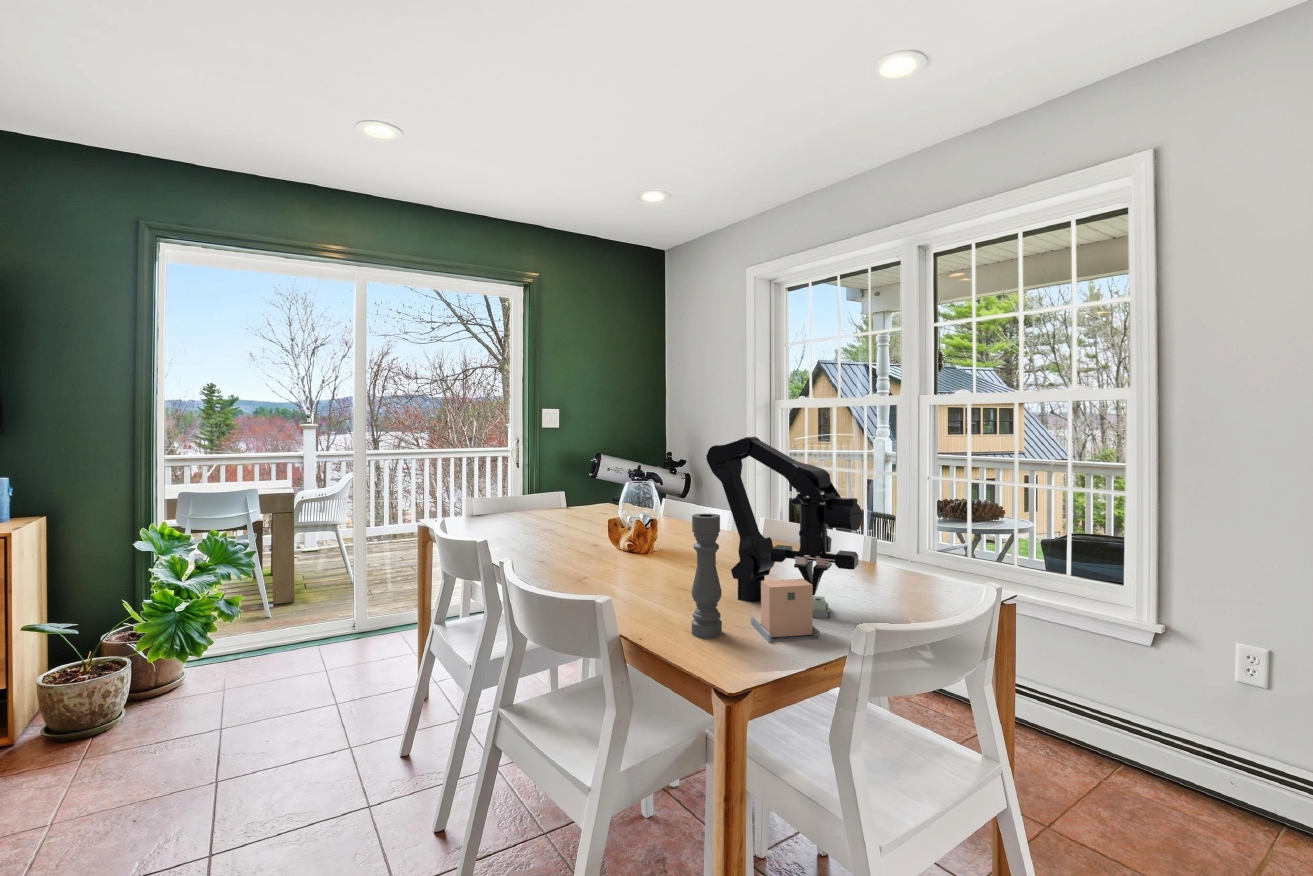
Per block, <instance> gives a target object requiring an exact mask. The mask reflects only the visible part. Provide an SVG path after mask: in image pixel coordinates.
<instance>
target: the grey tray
mask: <svg viewBox="0 0 1313 876" xmlns="http://www.w3.org/2000/svg"><path fill="white" fill-rule="evenodd" d="M750 625H751V626H752V627H753V628H754V629H755V630H756V631H757V632H758V634H759V635H761V636H762V637H763V639H764V640H765V641H766V642H768V643H782V642H784V643H787V642H796V641H797V642H799V641H812V640H813V641H815V640H821V630H820V629H818V628H817V627H815V626H814V625H813V635H798V636H784V637H771V634H770V633H769V632H768V631H767V630H766V629H765V628H764V627H763V626H762V625H761V622H759V620H757V619H756V618H755V617H754V616H751V617H750Z"/></svg>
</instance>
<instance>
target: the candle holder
mask: <svg viewBox="0 0 1313 876" xmlns="http://www.w3.org/2000/svg"><path fill="white" fill-rule="evenodd" d="M691 517H692V518H691V520H692V521H691V530H692V531H691V532H692V533H693V537H694V538H695V541H696V542H695V543H694V544H693V550H695V552H696V570H695V573H694V579H693V584H692V588H691V597H692V600H693V601H694V602H695V607H696V608H695V610H694V612H692V618H693V619H692V620H691V635H692V636H693V637H695V638H698V639H704V640H705V639H710V640H711V639H716V638H719V637H721V636H722V635H723V630H722V628H723V621H722V620H721V616H722V615H721V612H720V611H719V609H718V608H717V607H718V603H719V601H720V600H721V598H722V587H721V584H720V579H719V578H720V577H719V575H718V570H717V560H716V559H717V557H716V555H717V554H716V553H717V551H718V550H720V545H719V544H718V543H717V540H718V538H719V533H720V532H721V515H720V514H716V513H695V514H693V515H691Z"/></svg>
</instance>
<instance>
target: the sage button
mask: <svg viewBox="0 0 1313 876" xmlns="http://www.w3.org/2000/svg"><path fill="white" fill-rule="evenodd" d="M826 603H827V601H826V598H825V596H823V595H822V596H820V595H813V610H818V611H826Z"/></svg>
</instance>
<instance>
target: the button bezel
mask: <svg viewBox="0 0 1313 876" xmlns="http://www.w3.org/2000/svg"><path fill="white" fill-rule="evenodd" d="M813 619H817V620H818V619H819V620H834V617H833V614H832V610H831V608H830V606H829V603H828V602H826V611H818V610H813Z"/></svg>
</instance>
